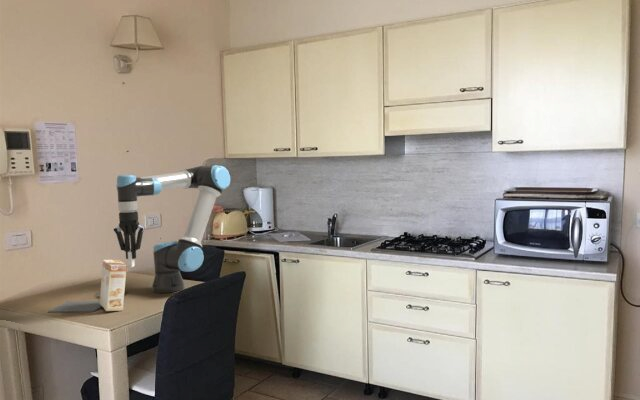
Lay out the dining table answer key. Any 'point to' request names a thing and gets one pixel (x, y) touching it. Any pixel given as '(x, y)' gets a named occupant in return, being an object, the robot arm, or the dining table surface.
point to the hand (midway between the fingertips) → (131, 266)
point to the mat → (77, 307)
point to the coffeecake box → (113, 285)
